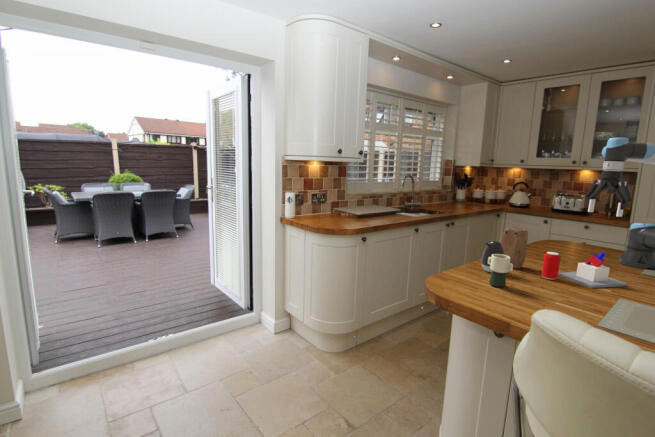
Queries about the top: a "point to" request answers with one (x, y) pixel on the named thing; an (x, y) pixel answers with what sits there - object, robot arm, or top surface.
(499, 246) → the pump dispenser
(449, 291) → the top surface
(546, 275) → the beverage can
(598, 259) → the toy building block
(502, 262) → the character mug
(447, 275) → the top surface
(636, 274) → the top surface
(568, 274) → the build base
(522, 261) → the block
